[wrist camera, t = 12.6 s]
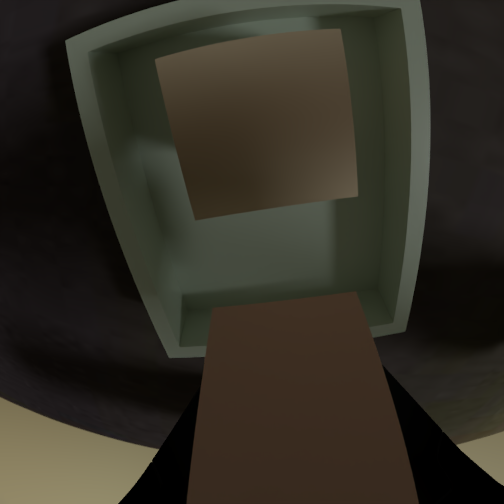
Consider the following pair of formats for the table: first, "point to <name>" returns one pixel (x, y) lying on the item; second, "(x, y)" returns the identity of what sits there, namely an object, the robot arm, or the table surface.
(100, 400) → the table surface
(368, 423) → the coral block
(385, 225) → the sage tub
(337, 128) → the maple block
